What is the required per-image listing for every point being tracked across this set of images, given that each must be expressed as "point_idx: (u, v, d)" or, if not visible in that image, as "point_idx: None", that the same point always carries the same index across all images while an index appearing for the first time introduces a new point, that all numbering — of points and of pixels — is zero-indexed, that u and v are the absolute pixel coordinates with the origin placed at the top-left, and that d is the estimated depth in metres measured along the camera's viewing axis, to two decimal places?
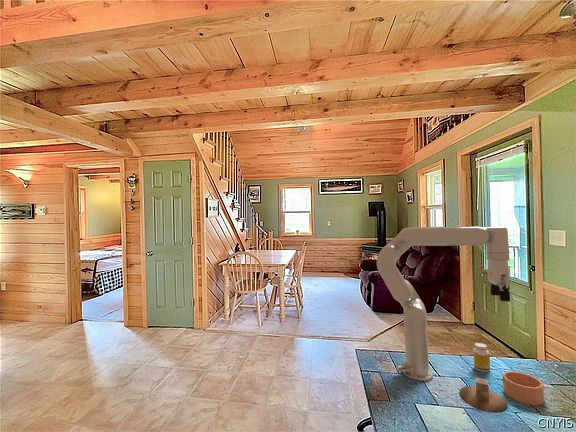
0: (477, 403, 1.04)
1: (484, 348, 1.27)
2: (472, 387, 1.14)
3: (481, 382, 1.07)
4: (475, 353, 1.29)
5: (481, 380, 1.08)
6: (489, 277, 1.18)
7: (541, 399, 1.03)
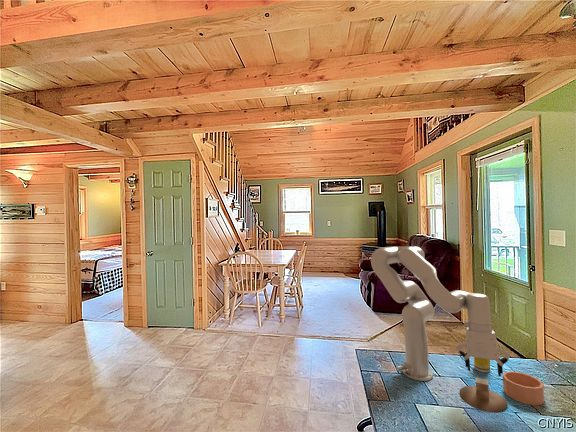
0: (477, 403, 1.04)
1: None
2: (472, 387, 1.14)
3: (481, 382, 1.07)
4: None
5: (481, 380, 1.08)
6: (476, 352, 1.06)
7: (541, 399, 1.03)
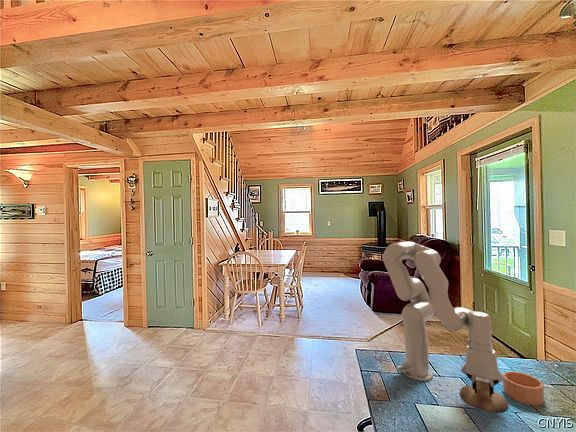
0: (477, 402, 1.04)
1: None
2: None
3: (482, 381, 1.07)
4: None
5: (482, 379, 1.08)
6: (476, 371, 1.06)
7: (541, 399, 1.03)
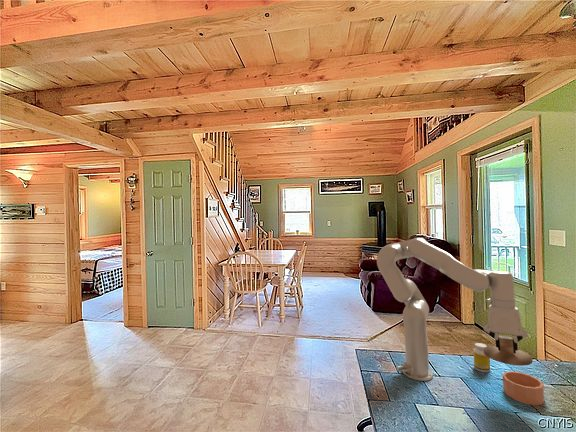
0: (502, 358, 1.05)
1: None
2: None
3: (505, 338, 1.08)
4: (475, 353, 1.29)
5: (505, 337, 1.09)
6: (499, 328, 1.08)
7: (541, 399, 1.03)
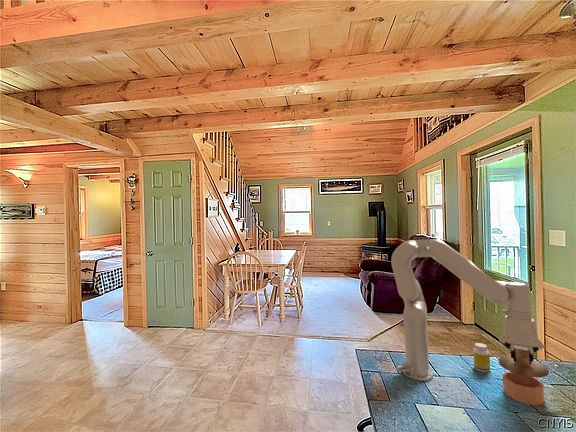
0: (518, 369, 1.06)
1: (484, 348, 1.27)
2: (510, 356, 1.16)
3: (521, 350, 1.09)
4: (475, 353, 1.29)
5: (520, 348, 1.10)
6: (515, 339, 1.09)
7: (541, 399, 1.03)
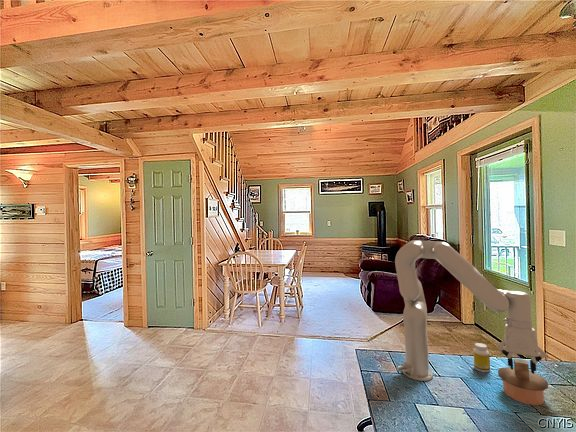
0: (518, 382, 1.06)
1: (484, 348, 1.27)
2: (509, 368, 1.16)
3: (521, 362, 1.09)
4: (475, 353, 1.29)
5: (520, 360, 1.10)
6: (515, 348, 1.08)
7: (541, 399, 1.03)
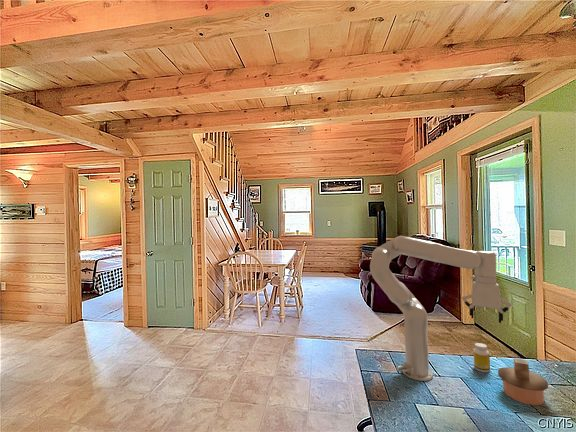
0: (518, 382, 1.06)
1: (484, 348, 1.27)
2: (509, 368, 1.16)
3: (521, 362, 1.09)
4: (475, 353, 1.29)
5: (520, 360, 1.10)
6: (480, 301, 1.19)
7: (541, 399, 1.03)
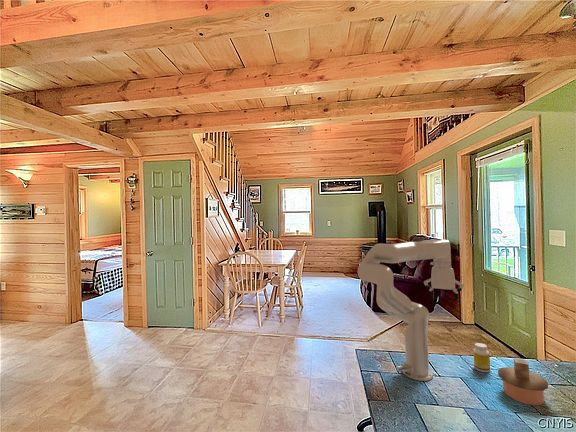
0: (518, 382, 1.06)
1: (484, 348, 1.27)
2: (509, 368, 1.16)
3: (521, 362, 1.09)
4: (475, 353, 1.29)
5: (520, 360, 1.10)
6: (438, 284, 1.36)
7: (541, 399, 1.03)
